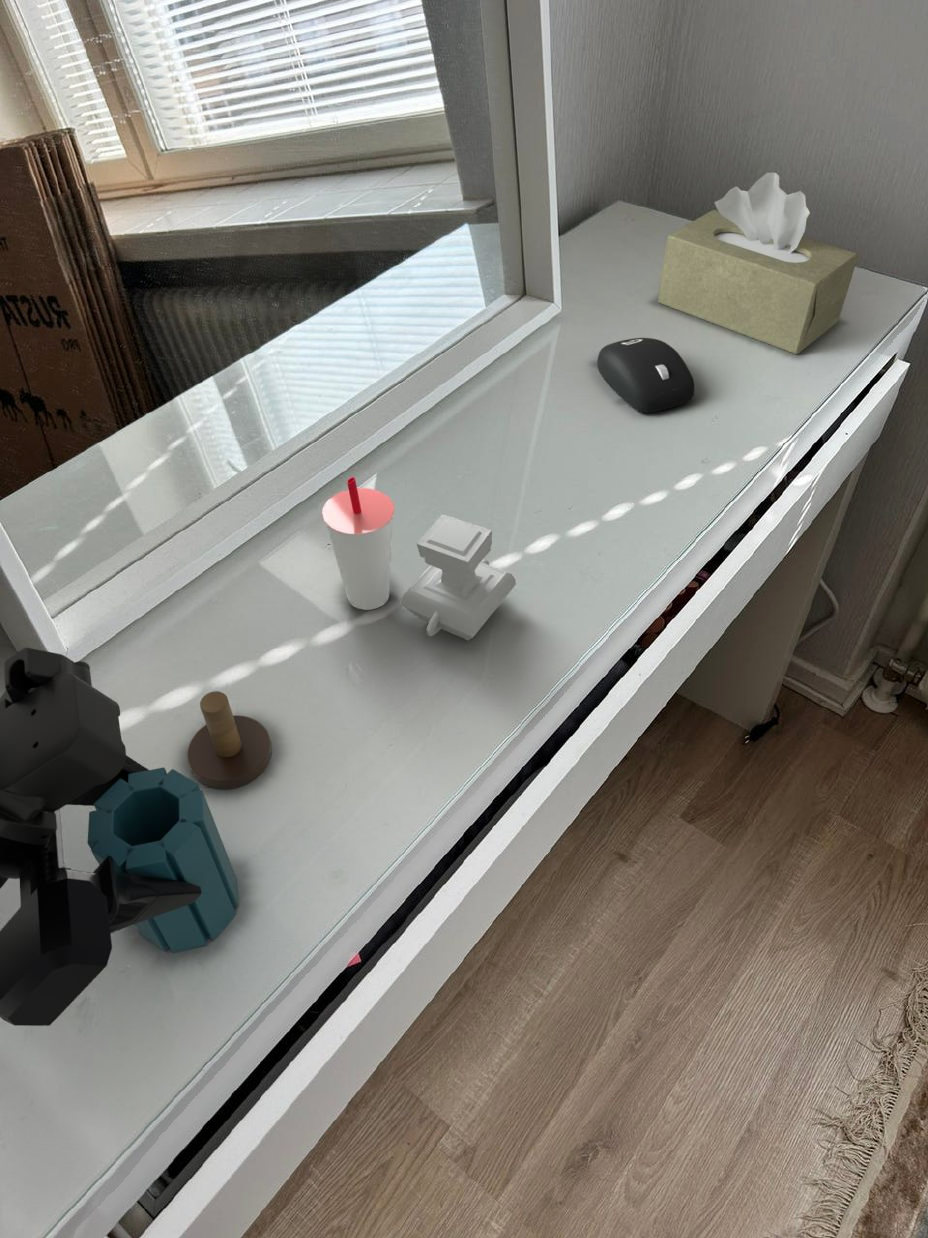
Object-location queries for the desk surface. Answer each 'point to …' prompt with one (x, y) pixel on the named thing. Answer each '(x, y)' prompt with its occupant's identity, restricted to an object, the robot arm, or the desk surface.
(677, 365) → the computer mouse
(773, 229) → the tissue box
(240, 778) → the dowel stand
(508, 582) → the stamp
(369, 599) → the cup
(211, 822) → the sleeve
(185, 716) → the desk surface
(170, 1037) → the desk surface
